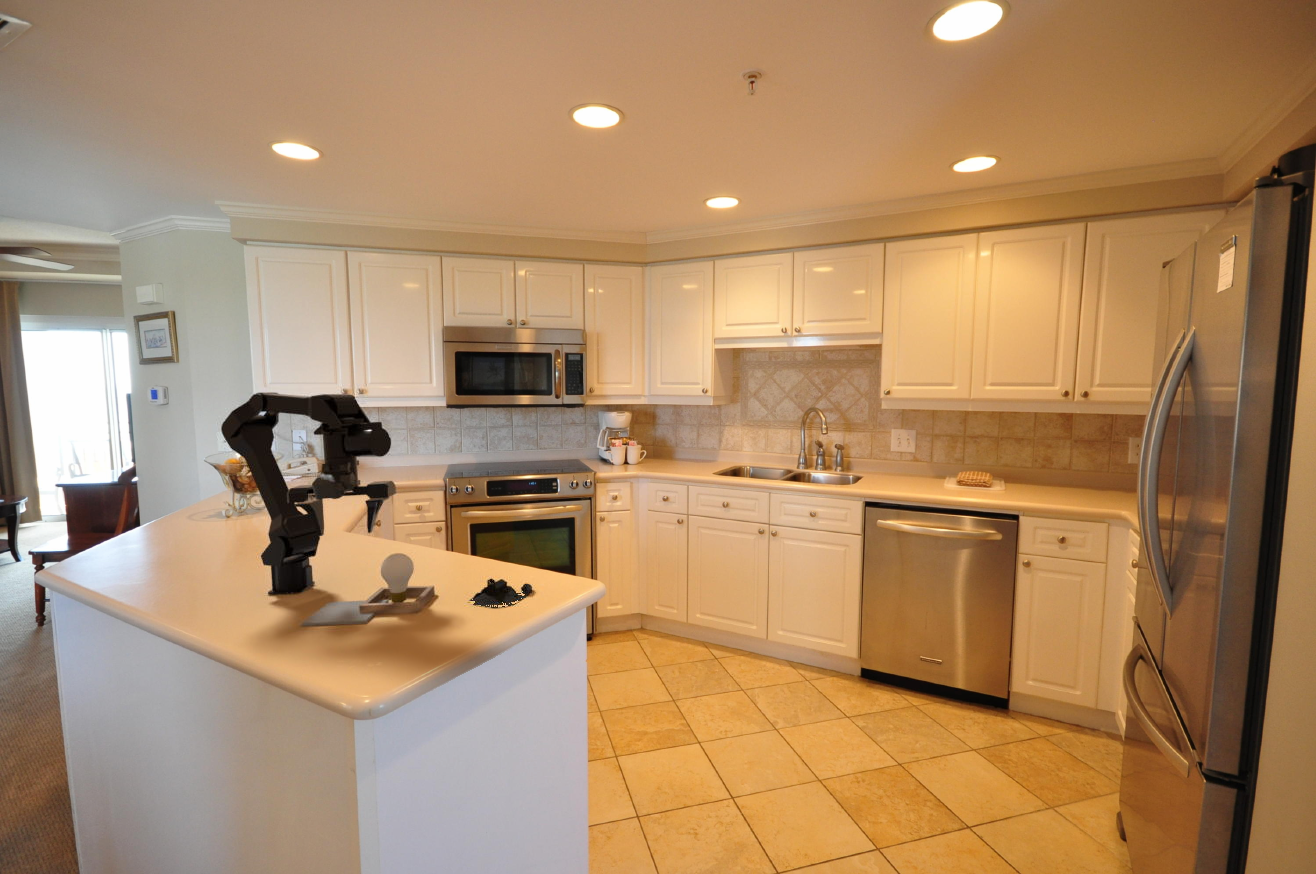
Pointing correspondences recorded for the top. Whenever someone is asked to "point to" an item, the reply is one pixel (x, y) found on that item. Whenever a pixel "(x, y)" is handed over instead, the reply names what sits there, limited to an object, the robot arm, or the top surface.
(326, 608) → the coaster
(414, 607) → the holder frame
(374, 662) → the top surface
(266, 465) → the robot arm
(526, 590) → the black irregular lumpy piece
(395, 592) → the light bulb
